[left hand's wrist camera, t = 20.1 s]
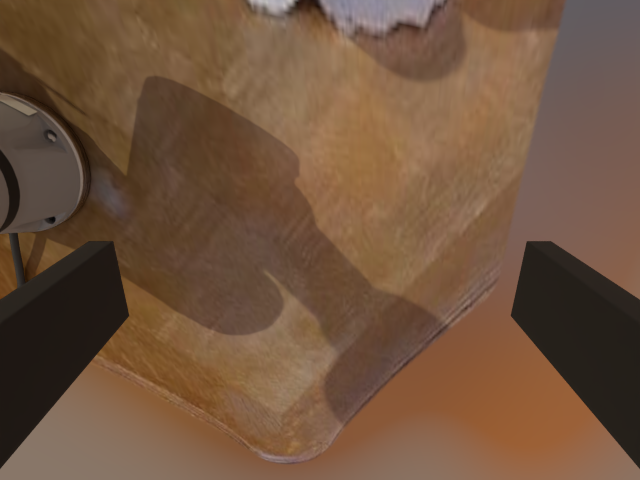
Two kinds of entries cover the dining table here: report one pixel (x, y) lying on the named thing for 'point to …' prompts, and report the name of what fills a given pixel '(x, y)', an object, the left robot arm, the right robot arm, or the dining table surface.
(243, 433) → the dining table surface
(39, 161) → the left robot arm
